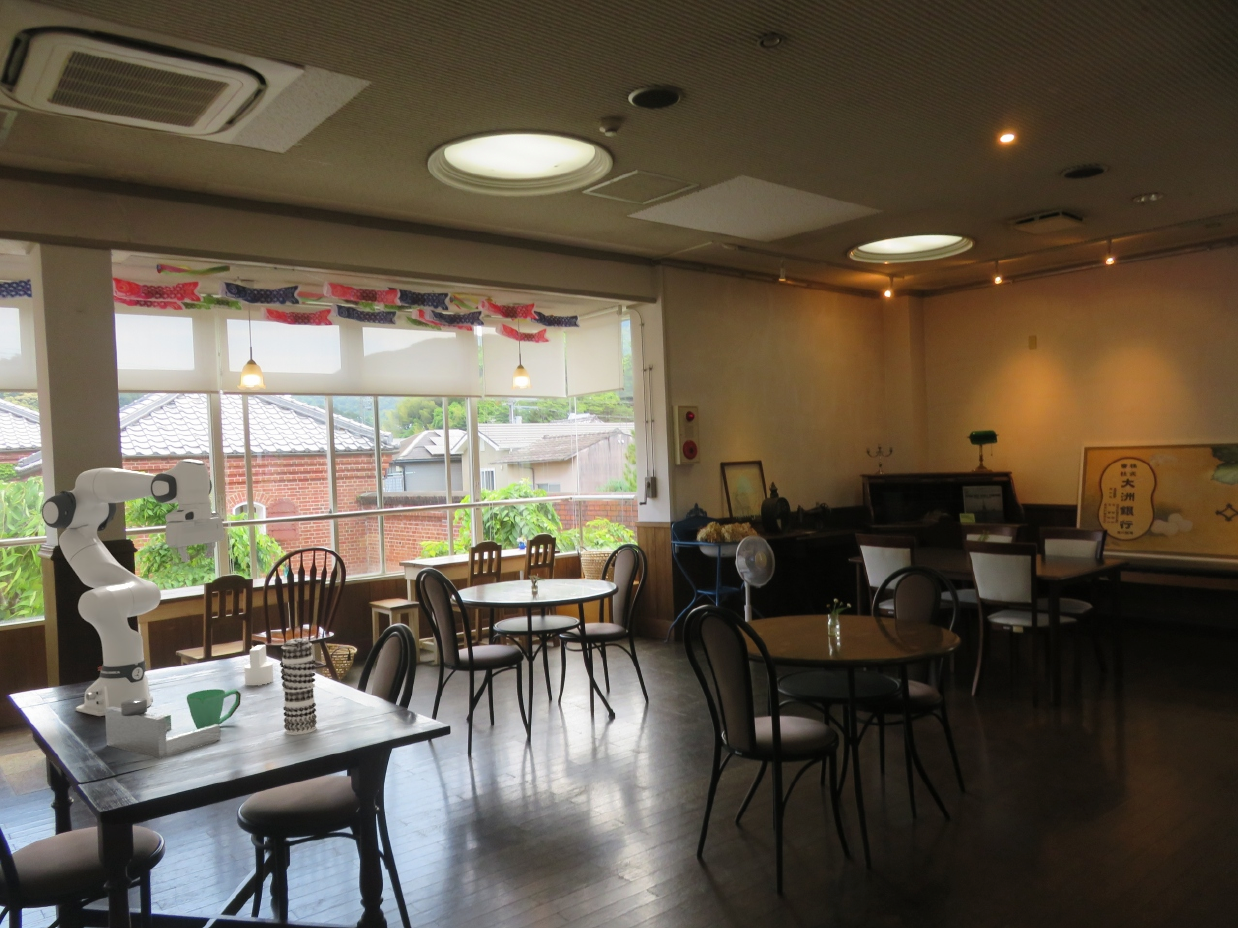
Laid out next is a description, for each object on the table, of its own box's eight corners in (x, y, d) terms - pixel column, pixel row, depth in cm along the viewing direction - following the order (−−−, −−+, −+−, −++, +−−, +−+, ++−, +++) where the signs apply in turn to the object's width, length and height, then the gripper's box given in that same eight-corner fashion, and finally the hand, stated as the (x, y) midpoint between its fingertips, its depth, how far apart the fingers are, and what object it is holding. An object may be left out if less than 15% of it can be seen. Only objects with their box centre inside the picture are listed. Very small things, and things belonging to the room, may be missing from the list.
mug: (196, 736, 248) (195, 700, 248) (182, 730, 255) (180, 694, 254) (249, 723, 259) (247, 688, 259) (233, 717, 265) (232, 683, 265)
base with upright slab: (249, 680, 313) (248, 645, 313) (276, 678, 314) (274, 643, 314) (241, 686, 304) (240, 651, 304) (269, 684, 305) (267, 649, 305)
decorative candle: (303, 736, 244) (299, 644, 244) (275, 733, 247) (271, 642, 247) (325, 726, 253) (321, 637, 252) (298, 724, 256) (294, 636, 256)
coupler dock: (167, 727, 257) (165, 682, 257) (220, 739, 244) (218, 691, 244) (99, 747, 241) (96, 698, 241) (151, 761, 228) (149, 709, 228)
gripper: (211, 511, 281) (213, 555, 281) (160, 516, 261) (163, 563, 261) (228, 510, 279) (230, 555, 279) (178, 515, 259) (180, 563, 259)
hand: (197, 559), depth 270 cm, fingers open, 8 cm apart
